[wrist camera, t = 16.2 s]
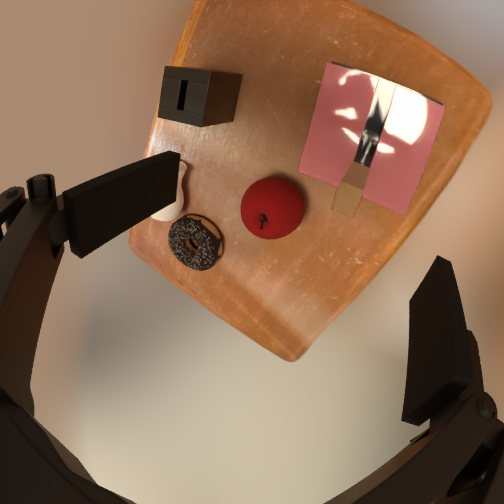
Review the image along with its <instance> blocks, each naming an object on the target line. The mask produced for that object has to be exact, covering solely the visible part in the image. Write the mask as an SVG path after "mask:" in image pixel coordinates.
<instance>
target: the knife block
mask: <svg viewBox="0 0 504 504" xmlns="http://www.w3.org/2000/svg"><path fill="white" fill-rule="evenodd" d="M241 80H242V74H237V73H231V72H224V71H217V70H210V69H202V68H191V67H175V66H165V69H164V76H163V82H162V89H161V96H160V103H159V111H158V118H163V119H168V120H172V121H177V122H181V123H185V124H190V125H194V126H198V127H206V126H211V125H216V124H222V123H227V122H233V119H234V114H235V109H236V104H237V99H238V94H239V90H240V85H241Z"/></svg>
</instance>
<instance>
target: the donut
mask: <svg viewBox="0 0 504 504" xmlns="http://www.w3.org/2000/svg"><path fill="white" fill-rule="evenodd" d="M190 238H191V239H193V240H194V241H195V242H196V243H197V244H198V250H197V249H195V248H194V247H193V246H192V245H191V243H190V242H189V239H190ZM168 241H169V246H170V248H171V251H172V253H173V254H174V256H176V258H177V259H178V260H179V261H180V262H181V263H183V264H184V265H185V266H187V267H189V268H192V269H195V270H199V271H204V270H207V269H209V268H211V267H212V266H214V265H215V263H217V262H218V260H219V259H220V257H221V254H222V238H221V237H220V234H219V232H218V230H217V229H216V228H215V226H214V225H213V224H211V223H210V222H209V221H208V220H206V219H204V218H202V217H198V216H194V215H185V216H183V217H182V218H180V219H178V220H177V221H176V222H174V223H173V224H172V226H171V228H170V230H169V234H168Z"/></svg>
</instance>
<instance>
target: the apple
mask: <svg viewBox="0 0 504 504" xmlns="http://www.w3.org/2000/svg"><path fill="white" fill-rule="evenodd" d="M303 215H304V202H303V199H302V197H301V195H300V193H299V192H298V190H297V189H296V188H295V187H294V186H293V185H291V184H290V183H288V182H286V181H284V180H282V179H280V178H265V179H261V180H258V181H256V182H255V183H253V184H252V185H251V186H250V187H249V188H248V189H247V190H246V192H245V194H244V196H243V198H242V202H241V218H242V221H243V223H244V225H245V226H246V228H247V229H248V230H249V231H250V232H251V233H253V234H254V235H256V236H258V237H260V238H263V239H278V238H281V237H285V236H287V235H288V234H290V233H291V232H293V231H294V230H295V229H296V228H297V227H298V226H299V225H300V223H301V221H302V219H303Z"/></svg>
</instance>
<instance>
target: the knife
mask: <svg viewBox="0 0 504 504" xmlns="http://www.w3.org/2000/svg"><path fill="white" fill-rule="evenodd" d="M368 152H369V150H366V151H365V153H364V156H363V158H362V160H361V162H360V164H359V163H357V162H354V161H353V162H352V164H351V165H350V167H349V169H348V170H347V172H346V173H345V175H344V177H343V178H342V180H341V181H340V184H339V187H338V190H337V193H336V196H335V199H334V202H333V204H332V207H331V209H332V210H334V211H337V212H339V213H342V214H344V215H346V216H349V217H351V218H354V216H355V213H356V211H357V208H358V206H359V203H360V200H361V198H362V195H363V193H364V190H365V186H366V182H367V179H368V175H369V171H370V168H369V167H366V166H364V164H365V161H366V158H367V155H368Z"/></svg>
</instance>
